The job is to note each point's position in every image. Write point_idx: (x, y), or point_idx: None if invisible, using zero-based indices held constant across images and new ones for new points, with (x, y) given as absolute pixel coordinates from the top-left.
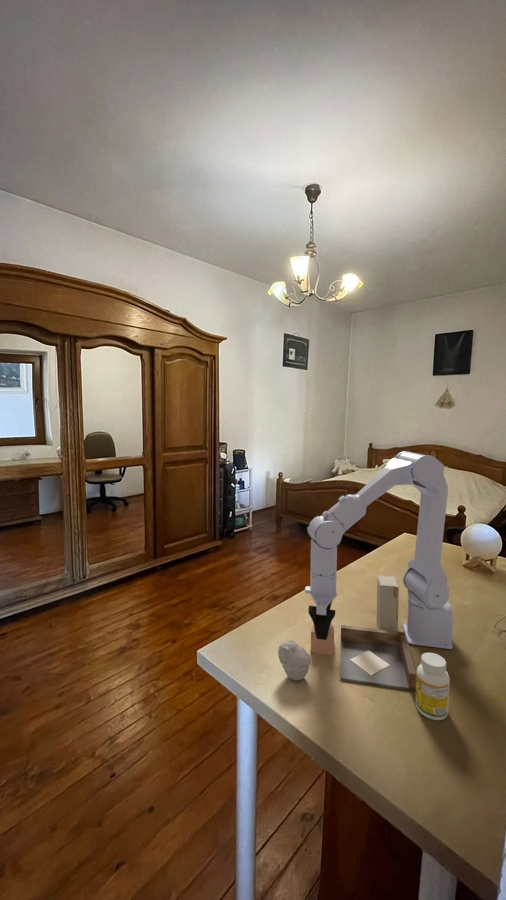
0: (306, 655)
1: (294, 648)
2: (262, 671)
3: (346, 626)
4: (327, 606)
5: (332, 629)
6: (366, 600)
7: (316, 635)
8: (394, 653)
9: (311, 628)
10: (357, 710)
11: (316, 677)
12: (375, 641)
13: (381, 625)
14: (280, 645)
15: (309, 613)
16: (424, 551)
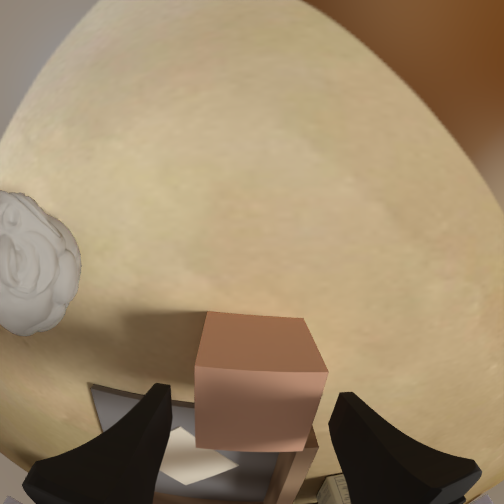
0: (3, 325)
1: None
2: (71, 125)
3: (306, 460)
4: (352, 476)
5: (237, 446)
6: (468, 428)
7: (149, 392)
8: (236, 495)
9: (231, 369)
10: (28, 389)
11: (79, 321)
12: (272, 482)
13: (331, 496)
14: (8, 199)
15: (31, 468)
16: None
